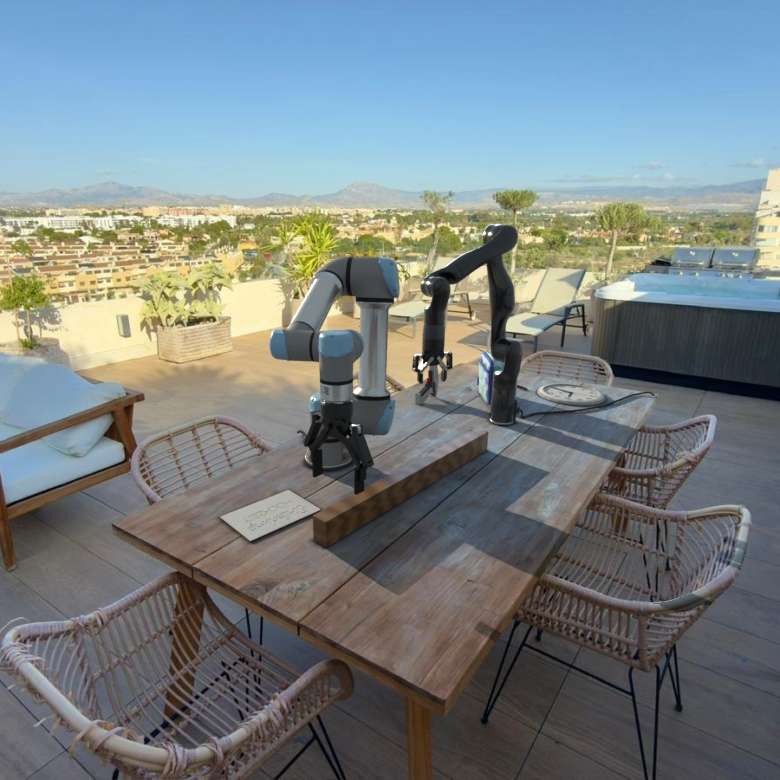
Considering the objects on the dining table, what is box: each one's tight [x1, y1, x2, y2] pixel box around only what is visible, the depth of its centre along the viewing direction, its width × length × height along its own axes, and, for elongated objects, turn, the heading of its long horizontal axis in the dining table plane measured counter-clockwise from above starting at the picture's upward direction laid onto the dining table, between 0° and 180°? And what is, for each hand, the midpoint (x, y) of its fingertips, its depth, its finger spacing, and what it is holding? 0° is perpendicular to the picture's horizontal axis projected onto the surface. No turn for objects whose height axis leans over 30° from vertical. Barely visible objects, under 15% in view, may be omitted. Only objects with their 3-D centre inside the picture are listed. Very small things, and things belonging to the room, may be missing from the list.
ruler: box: [517, 384, 528, 391], centre depth 253 cm, size 15×1×1 cm, turn 34°
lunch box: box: [476, 351, 504, 406], centre depth 230 cm, size 26×11×21 cm, turn 179°
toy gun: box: [414, 365, 439, 406], centre depth 228 cm, size 2×16×15 cm
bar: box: [312, 427, 489, 548], centre depth 152 cm, size 76×4×7 cm, turn 140°
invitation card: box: [219, 489, 322, 542], centre depth 138 cm, size 21×1×15 cm
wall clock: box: [537, 383, 606, 407], centre depth 241 cm, size 30×2×30 cm
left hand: (337, 483), depth 125 cm, fingers open, 13 cm apart
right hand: (431, 382), depth 181 cm, fingers open, 8 cm apart
